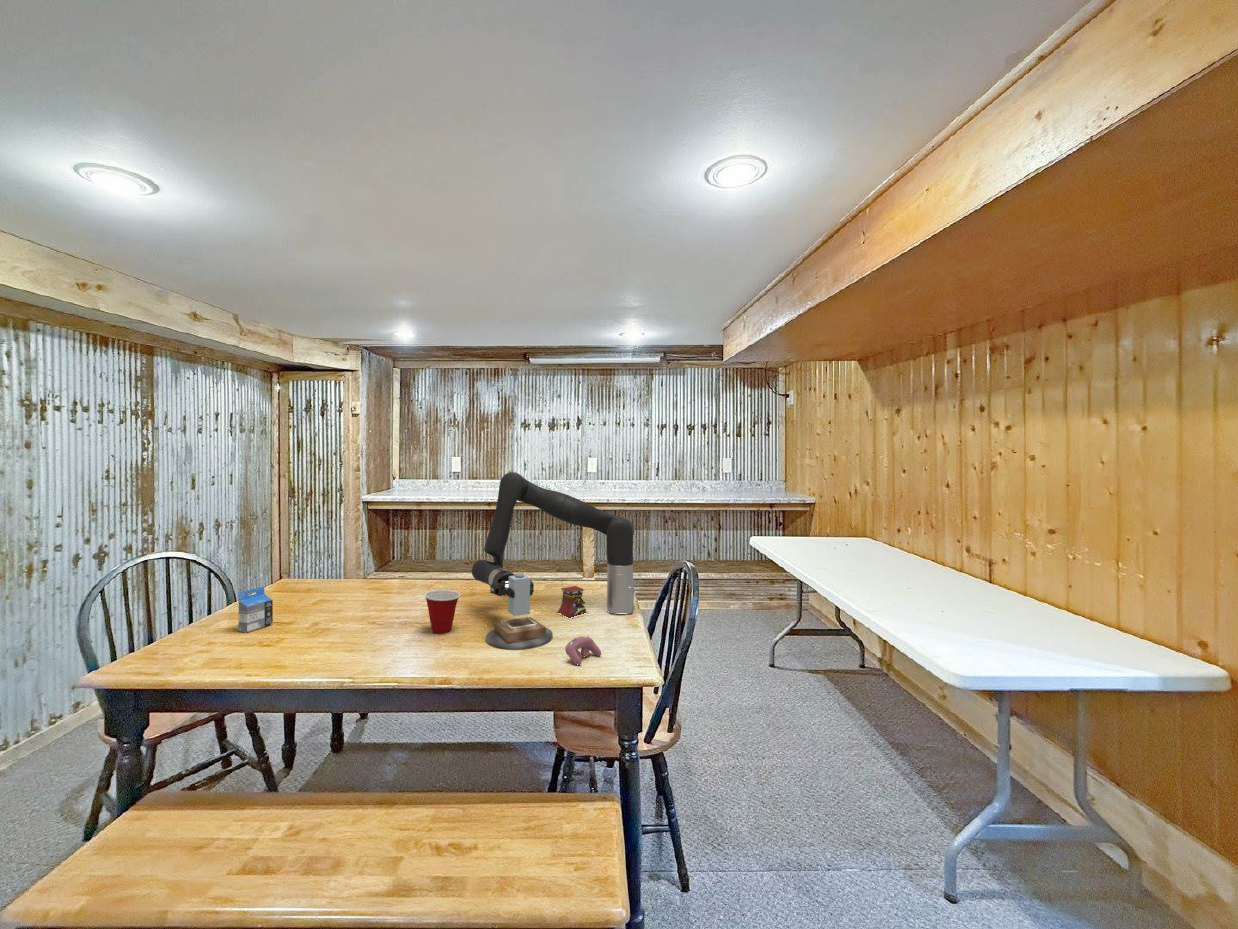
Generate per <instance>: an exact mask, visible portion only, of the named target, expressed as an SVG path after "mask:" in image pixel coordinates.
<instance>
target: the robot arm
mask: <svg viewBox="0 0 1238 929" xmlns="http://www.w3.org/2000/svg"><path fill="white" fill-rule="evenodd" d="M517 501H518V502H521V503H524V504H527V505H530V506H532V507H533V506H534V507H535V508H537V509H539V510H541V511H543V512H544V513H546V514H548V515H550V516H551V517H554V518H555V519H558V520H560V521H563V522H565V523H567V524H570V525H573V526H579V527H582V528H587V529H588V528H589V529H592V530H594V531H595V530H596V531H597V532H600V533H602V534H604V535H606V559H607V565H606V566H607V572H606V573H607V575H606V580H607V581H606V583H607V584H606V611H607V610H608V611H609V612H611V613H632V614H633V612H634V610H633V609H634V608H635V605H634V604H635V603H634V602H635V584H634V534H635V526H634V525H633V523H632V522H631V520H629V519H628V518H626V517H623V516H620V515H616V514H612V513H609V512H605V511H603V510H600V509H599V508H596V507H594V506H593V505H591V504H589V503H587V502H585V501H582V500H581V499H579V498H576V497H573V496H572V495H569V494H566V493H563V492H560V491H555V490H551V489H547V488H544V487H541V486H539V485H537V484H535V483H533V482H532V481H529V480H528V479H526V478H524V477H523V476H522V475H521V474H520V473H518V472H515V471H510V472H507V473H505V474H504V475H503V476H502V477H501V479H500V481H499V487H498V496H497V501H496V506H495V511H494V513H493V518H492V521H491V525H490V528H489V531H488V534H487V537H486V540H485V544H484V546H483V547H484V548H483V551H484V552H485V553H486V554H488V555H490V556H492V558H493V561H489V560H485V559H479V560H478V559H477V561H475V562H474V563H473V565H472V567H471V574H472V578H473V579H474V580H475V581H479V582H481V583H483V584H486V585H488V586H489V593H490V594H493V595H494V596H495V595H496V596H498V597H503V596H504V597H508V596H509V597H511V598H515V591H514V590H512V589H511V588H509V576H515V574H516V573H513V572H511V571H509V569H506V568H504V553H505V549H506V547H507V544H508V539H509V537H510V536H509V535H510V530H511V524H512V518H513V513H514V509H515V506H516V504H517ZM534 585H535V584H534V582H533V581H532V580H531V579H530V597H532V596H533V595H534V587H535V586H534ZM632 611H633V612H632ZM611 613H610V614H611Z"/></svg>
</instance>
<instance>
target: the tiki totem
mask: <svg viewBox="0 0 1238 929" xmlns="http://www.w3.org/2000/svg"><path fill="white" fill-rule="evenodd" d="M561 591H562V599H561V605H560V607H559V608H558V610H557V611H556V614H557V613H561V614H562V615H564V616H566V617H568V618H571V617H574V616H577V615H581V614H584V613H587V614H588V612H587V611H586V610H587V609H586V606H585V604H586V602H585V600H584V599H583V598H582V597H583V593H584V591H585V590H584V588H582V587H580V586H577V585H574V586H566V587H561Z"/></svg>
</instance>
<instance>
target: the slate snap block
mask: <svg viewBox="0 0 1238 929" xmlns="http://www.w3.org/2000/svg"><path fill="white" fill-rule="evenodd" d="M514 574H515V576H509V588H511V589H512V590H514V591H515V598H511V597H509V596H507V598H508V599H507V600H508V606H507V607H508V609H507V610H508V611H507V612H508V613H509V614H510V615H512V616H513V617H518V616H525V615H530V614H531V613H530V612H531V611H530V610H531V596H530V580H531V578H530V577H529V576H528V575H526V574H524V573H520V572H519V573H514Z"/></svg>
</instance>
